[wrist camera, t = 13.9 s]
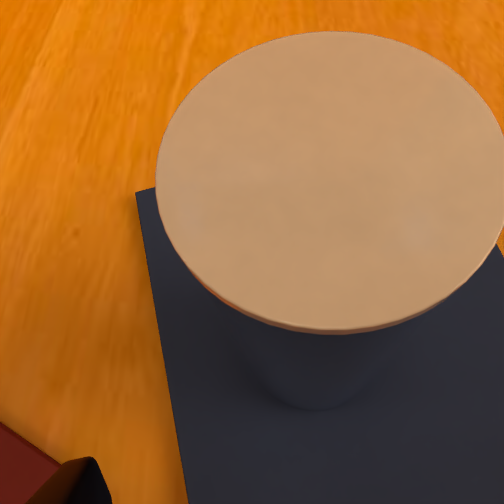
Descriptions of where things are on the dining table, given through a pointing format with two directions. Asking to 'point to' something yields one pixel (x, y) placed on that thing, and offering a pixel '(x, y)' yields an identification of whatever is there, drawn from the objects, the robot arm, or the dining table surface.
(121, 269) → the dining table surface
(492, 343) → the blue mat
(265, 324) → the blue canister
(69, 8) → the dining table surface
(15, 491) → the red mat
